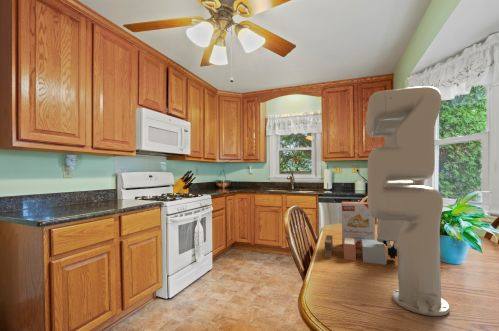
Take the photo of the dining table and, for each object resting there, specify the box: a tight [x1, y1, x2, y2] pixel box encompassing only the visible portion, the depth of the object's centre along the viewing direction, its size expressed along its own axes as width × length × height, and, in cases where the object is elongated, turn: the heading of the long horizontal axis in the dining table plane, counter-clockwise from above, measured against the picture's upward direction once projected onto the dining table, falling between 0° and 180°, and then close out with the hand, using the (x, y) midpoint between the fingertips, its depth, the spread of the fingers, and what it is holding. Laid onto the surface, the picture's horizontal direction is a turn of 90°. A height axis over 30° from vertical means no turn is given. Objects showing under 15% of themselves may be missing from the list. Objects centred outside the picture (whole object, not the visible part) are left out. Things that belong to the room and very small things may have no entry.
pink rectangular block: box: [343, 237, 357, 262], centre depth 104 cm, size 10×4×7 cm, turn 158°
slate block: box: [360, 239, 388, 266], centre depth 101 cm, size 12×8×6 cm, turn 159°
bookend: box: [324, 234, 334, 259], centre depth 107 cm, size 12×2×6 cm, turn 159°
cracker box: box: [341, 201, 376, 249], centre depth 117 cm, size 14×6×21 cm, turn 73°
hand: (392, 257), depth 98 cm, fingers closed
